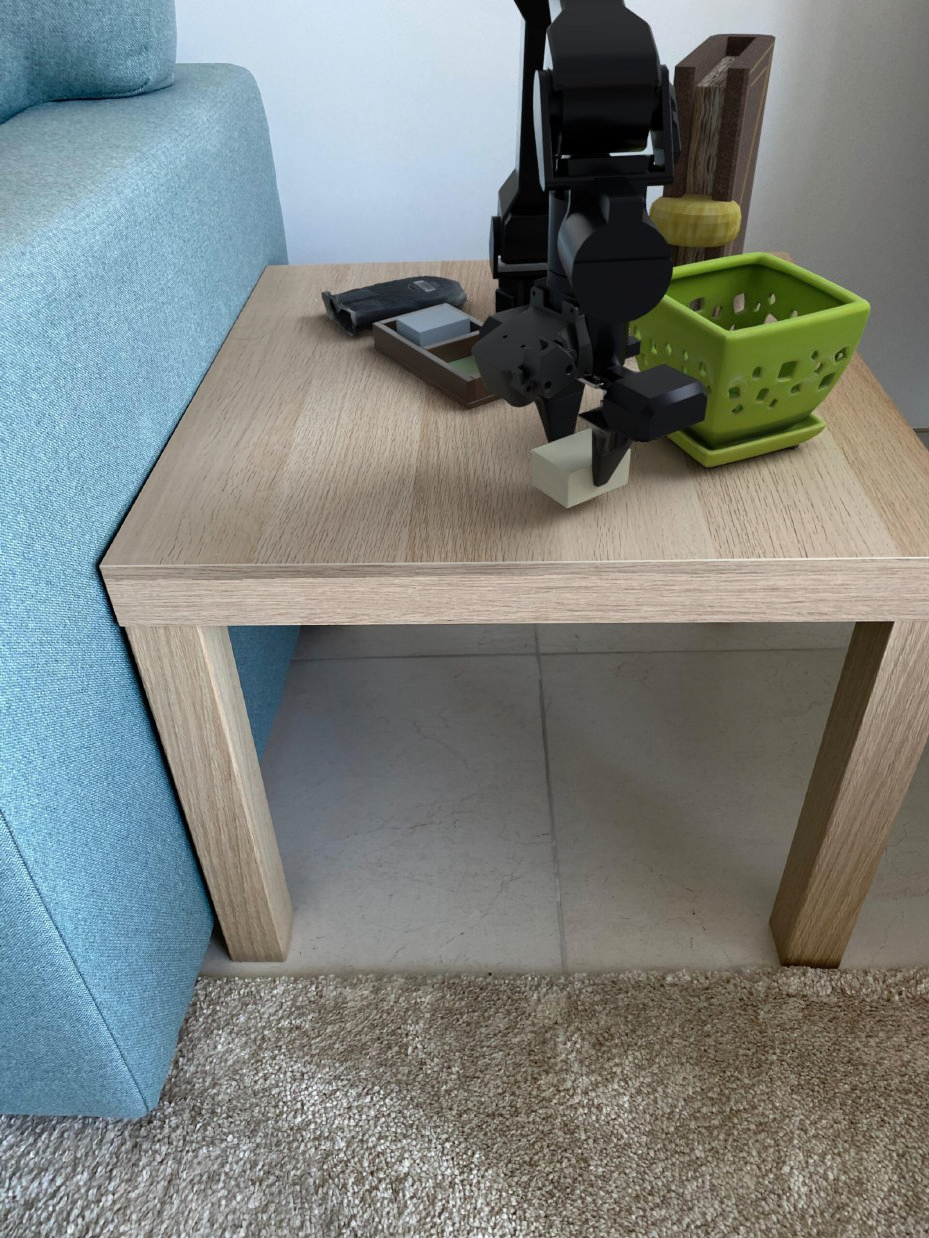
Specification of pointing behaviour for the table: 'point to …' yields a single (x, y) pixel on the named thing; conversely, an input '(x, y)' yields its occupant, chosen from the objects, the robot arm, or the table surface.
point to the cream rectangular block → (572, 470)
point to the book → (715, 148)
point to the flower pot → (752, 351)
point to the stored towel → (433, 326)
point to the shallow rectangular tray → (438, 360)
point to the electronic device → (390, 301)
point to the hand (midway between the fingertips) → (579, 471)
